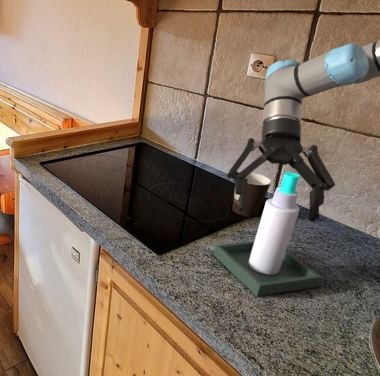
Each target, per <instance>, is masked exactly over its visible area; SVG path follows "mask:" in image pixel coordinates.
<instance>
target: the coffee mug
mask: <svg viewBox="0 0 380 376" xmlns="http://www.w3.org/2000/svg"><path fill="white" fill-rule="evenodd" d="M245 178H246V179H248V182H247V195H246V207H245V208H244V210H243V211H239V198H240V195H237V194H235V190H234V192H233V202H232V211H233V212H234V213H236V214H237V215H239V216H242V217H249V218H253V217H257V216H258V214H259V212H260V209H261V207H262V205H263V203H264V200H265V198H266V196H267V193H268V191H269V188H270V187H271V184H272V180H271V178H269V177H268V176H266V175H263V174H260V173H256V172H251V173H250V174H249V175H248V176H246V177H245ZM233 183H234V186H235V185H236V182H235V179H233Z"/></svg>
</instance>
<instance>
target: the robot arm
mask: <svg viewBox="0 0 380 376" xmlns="http://www.w3.org/2000/svg"><path fill="white" fill-rule="evenodd" d="M379 77H380V39H379V40H377V41H374V42H370V43H368V44H365V45H363V46H362V45H361V46H360V45H359V44H357V43H356V42H355V43H354V42H350V43H348V44H345V45H342V46H339V47H335V48H332V49H331V50H329V51H327V52H325V53H322V54H320V55H318V56H316V57H313V58H311V59H309V60H307V61H304V62H299V61H298V60H295V59H285V60H279V61H275V62H274V63H272V64H271V65H270V66H269V67H268V68H267V70H266V73H265V80H264V84H263V86H264V87H263V88H264V99H263V101H264V102H263V111H262V112H263V113H262V115H263V116H262V127H261V140H260V141H257V140H255V139H254V138H252V137H249V138H248V140H247V141H246V143H245V145H244V150H243V151H242V152H241V154H240V155H239V156H238V158H237V159H236V161H235V162H234V164H233V165H232V166H231V168H230V169H229V171H228V172H227V174H226V177H227V178H228V179H232V180H234V179H235V182H236V185H235V184H234V191H235V194H237V195H240V198H239V211H243V210H244V208H245V207H246V195H247V182H248V179H246V178H245V177H246V176H248V175H249V174H250V173H254V171H255V170H257V169H258V168H259V167H260V166H261V165H263V164H264V163H266V162H269V163H270V164H273V165H274V164H279V165H281V166H282V165H283V166H286V165H289V166H290V168H292V169H294V170H295V171H296V172H297V174H298V175H299V176H300V177H301V178H302V179H303V180H304V182H306V183H307V185H308V186H309V187H310V188H311V190H310V191H309V203H308V204H309V208H308V209H309V210H308V212H309V213H308V221H309V222H315V221H317V220H318V219H319V218H320V206H322V205H323V204H324V203H325V191H330V190H331V189H333V188H334V187H335V186H336V182H335V181H334V179H333V178H332V176H331V174H330V172H329V170H328V169H327V167H326V166H325V165H326V164H324V162H323V160H322V159H321V156H320V154H319V149H318V148H319V147H318V146H317V145H316V144H312V145H311V146H303V145H302V144H301V140H302V139H301V138H302V102H303V100H304V99H306V98H308V97H311V96H314V95H317V94H320V93H323V92H326V91H329V90H332V89H335V88H336V89H337V88H341V87H345V86H349V85H354V84H362V83H366V82H369V81H371V80H373V79H376V78H379ZM256 149H258V150H259V151H260V153H261V155H259V156H258V157H257V158H256V159H255V160H254V161H252V162H251V163H250V164H248V165H247V166H246V167H245V168H243V169H242V170H241V171H239V169H240V167H241V166H242V165H243V163H244V162H245V161H246V160H247V158H248V156H249V155H250V153H251V152H254V151H255V150H256ZM301 154H303V155H304V158H307V161H308V164H309V165H308V164H307V163H306V162H305V160H304V158H303V157H302V155H301ZM309 166H310V167H309ZM238 171H239V172H238Z"/></svg>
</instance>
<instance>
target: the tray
mask: <svg viewBox="0 0 380 376" xmlns="http://www.w3.org/2000/svg"><path fill="white" fill-rule="evenodd" d="M254 241H255V240H248V241H241V242H232V243H223V244H216V245H215V247H214V251H213V256H214V257H215V258H216V259H217V260H218V261H220V263H221V264H223V266H225V268H226V269H228V270H229V271H230V272H231V273H232V274H233V275H234V276H235V277H236V278H237V279H238V280H239V281H240V282H241V283H242V284H243V285H244V286H245V287H246V288H248V289H249V290H250V291H251V292H252V293H253V294H254V295H255V296H256V297H261V296H268V295H273V294H282V293H287V292H294V291H301V290H307V289H314V288H315V289H316V288H319V285H320V282H321V280H322V276H321V275H320V274H318V272H316V271H314V270H313V269H312V268H311V267H309V266H308V265H306V264H305V263H304V262H303V261H301V260H300V259H298V258H297V257H296V256H295V255H293V254H291V252H289V251H288V250H286V252H285V255H284V258H283V261H282V264H281V267H280V270H279V272H278V273H277V274H275V275H265V274H261V273H259V272H257V271H255V270H254V269H252V268H251V267H250V265H249V259H250V255H251V252H252V248H253V245H254Z"/></svg>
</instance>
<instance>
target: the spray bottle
mask: <svg viewBox="0 0 380 376" xmlns="http://www.w3.org/2000/svg"><path fill="white" fill-rule="evenodd" d="M299 178H300V174H299V173H296V172H292V171H285V172H284V175H283V178H282V181H281V184H280V186H279V187H276V188H275V191H274V194H273V197H272V198H268V199H266V201H265V203H264V208H263V211H262V214H261V218H260V221H259V224H258V228H257V232H256V235H255V238H254V240H253V241H254V245H253V248H252V252H251V255H250V259H249V265H250V267H251V268H252V269H254V270H255V271H257V272H259V273H261V274H265V275H275V274H277V273H278V272H279V270H280V267H281V264H282V261H283V258H284V255H285V252H286V251H287V249H288V246H289V243H290V240H291V237H292V233H293V231H294V228H295V225H296V223H297V219H298V216H299V213H300V206H299V205H297V199H298V195H299V193H298V191H297V185H298V183H299Z"/></svg>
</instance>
